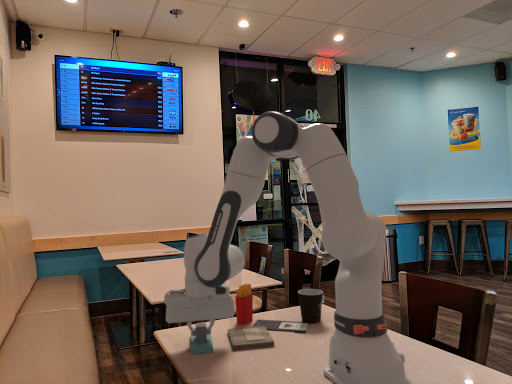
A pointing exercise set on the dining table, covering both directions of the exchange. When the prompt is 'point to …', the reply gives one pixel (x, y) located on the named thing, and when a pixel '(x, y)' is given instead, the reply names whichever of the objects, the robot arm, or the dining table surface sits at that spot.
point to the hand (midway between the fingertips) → (201, 334)
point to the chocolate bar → (283, 325)
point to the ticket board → (250, 338)
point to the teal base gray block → (201, 340)
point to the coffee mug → (310, 305)
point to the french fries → (244, 304)
